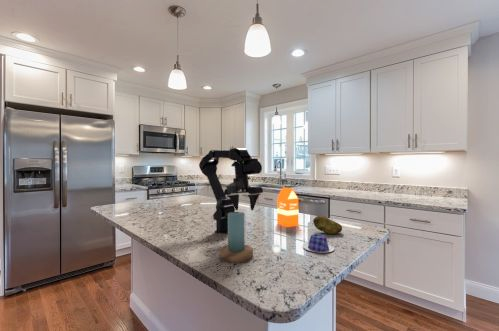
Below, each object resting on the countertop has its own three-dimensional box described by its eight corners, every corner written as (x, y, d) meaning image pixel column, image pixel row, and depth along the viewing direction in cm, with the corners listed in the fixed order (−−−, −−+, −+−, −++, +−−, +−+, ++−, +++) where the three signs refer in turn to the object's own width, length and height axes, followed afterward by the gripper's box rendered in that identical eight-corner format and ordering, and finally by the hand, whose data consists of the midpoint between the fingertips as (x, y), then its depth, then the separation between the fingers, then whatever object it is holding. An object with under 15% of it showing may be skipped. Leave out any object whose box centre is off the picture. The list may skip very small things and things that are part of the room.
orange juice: (287, 221, 143) (287, 186, 142) (298, 225, 135) (298, 188, 135) (277, 223, 139) (277, 187, 138) (287, 227, 131) (287, 189, 131)
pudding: (339, 248, 100) (339, 235, 100) (326, 257, 91) (326, 242, 91) (312, 242, 108) (312, 229, 108) (297, 249, 99) (297, 236, 99)
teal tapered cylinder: (224, 249, 91) (224, 213, 91) (237, 245, 95) (237, 211, 95) (234, 253, 87) (234, 216, 86) (248, 249, 91) (247, 213, 90)
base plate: (213, 260, 87) (213, 253, 87) (228, 248, 99) (228, 242, 98) (246, 265, 83) (246, 257, 83) (257, 252, 94) (257, 246, 94)
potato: (340, 237, 114) (340, 219, 114) (311, 233, 120) (311, 216, 119) (342, 232, 121) (342, 215, 121) (315, 229, 127) (315, 213, 127)
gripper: (214, 177, 114) (216, 212, 113) (245, 174, 102) (248, 213, 101) (231, 176, 122) (233, 209, 121) (262, 173, 111) (265, 209, 110)
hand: (244, 210), depth 113 cm, fingers open, 9 cm apart
